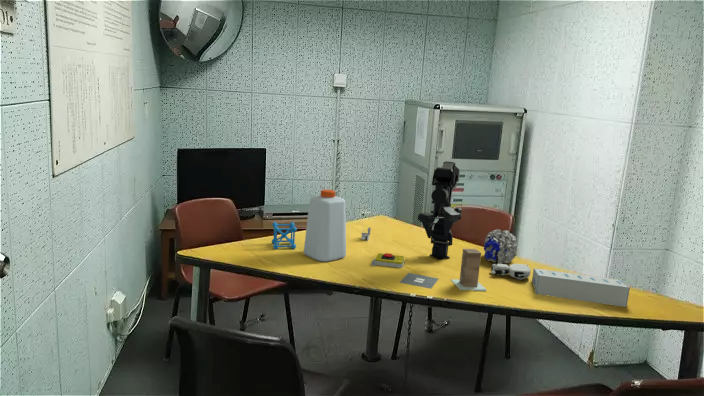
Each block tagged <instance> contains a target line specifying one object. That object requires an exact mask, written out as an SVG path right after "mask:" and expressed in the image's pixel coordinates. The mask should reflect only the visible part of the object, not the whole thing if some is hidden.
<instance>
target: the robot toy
mask: <svg viewBox="0 0 704 396" xmlns="http://www.w3.org/2000/svg"><path fill="white" fill-rule="evenodd" d="M490 269H491V271H490V273H491V274H492V275H496V276H497V275H498V276H501V277H502V276H508V275H509V276H510V277H511V278H515V279H516V280H519V281H520V280H523V279H527V278H529V277H530V276H531V267H530V266H529V264H525V263H524V264H522V263H512V264H510V265H508V264H507V263H501V264H499V263H493V264H491V268H490Z"/></svg>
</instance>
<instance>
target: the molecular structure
mask: <svg viewBox="0 0 704 396" xmlns="http://www.w3.org/2000/svg"><path fill="white" fill-rule="evenodd" d="M271 226H272V227H273V238H272V240H271V243H272V244H273V245H272V248H273V249H274V250H277V249H279V248H290V249H293V250H294V249H296V248H297V244H296V243H295V241H296V240H295V238H296V237H295V236H296V233H295V232H297V229H298V228H297V227H296V224H295V222H290V223H278V222H276V221H273V223H272V225H271ZM279 226H280V227H281V226H287V227H288V228H282V227H281V228H279ZM283 231H285V232H283ZM278 233H279V234H281V235H280V236H279V237H278ZM288 234H290V238H289V237H288V236H287V235H288ZM284 239H286V240H284ZM280 243H289V244H290V245H285V244H284V245H279V244H280Z"/></svg>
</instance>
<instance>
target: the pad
mask: <svg viewBox="0 0 704 396" xmlns="http://www.w3.org/2000/svg"><path fill="white" fill-rule="evenodd" d="M450 281H451V282H452V283H453V284H454V285H455V286H456V287H457V289H459V290H460V291H473V292H487V288H486V287H485V286H483V285H482V283H480V282H479V281H478V285H477V287H464V286H463V285H462V284H461V283H460V282H459V281H460V278H459V279H457V278H456V279H455V278H454V279H452V278H451V279H450Z"/></svg>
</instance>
